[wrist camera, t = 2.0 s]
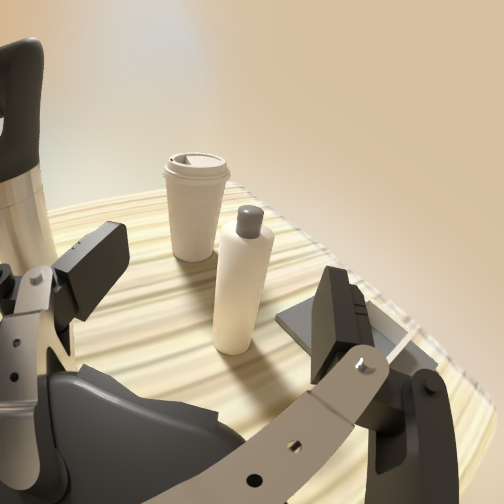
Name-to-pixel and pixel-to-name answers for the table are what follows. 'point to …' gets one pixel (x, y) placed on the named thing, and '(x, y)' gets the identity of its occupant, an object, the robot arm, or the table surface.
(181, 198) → the coffee cup
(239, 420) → the table surface
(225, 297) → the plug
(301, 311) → the floor socket
